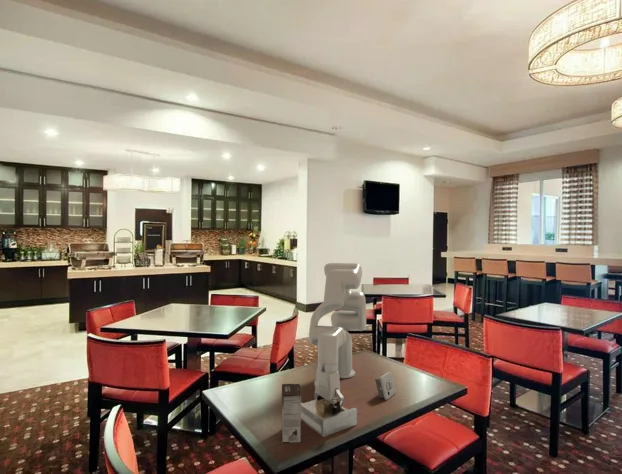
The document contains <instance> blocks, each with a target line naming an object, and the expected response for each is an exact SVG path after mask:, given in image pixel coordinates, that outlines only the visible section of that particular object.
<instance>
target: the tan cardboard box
mask: <svg viewBox="0 0 622 474" xmlns="http://www.w3.org/2000/svg"><path fill="white" fill-rule="evenodd" d="M334 398H335V397H334ZM334 401H335V403H337V400H334ZM342 405H343V404H342ZM342 405H341V406H340V412H342ZM332 407H333V404H332V401H328V400H326V399H321V400H318V401H316V413H317V414H318V415H320V416H321V417H322V418H325V417H328V416H331V415H332Z"/></svg>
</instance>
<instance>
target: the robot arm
mask: <svg viewBox="0 0 622 474" xmlns="http://www.w3.org/2000/svg"><path fill="white" fill-rule="evenodd" d="M323 272H324V275H325V285H324V293H323V302H322V303H321V304H320V305H318V306H317V307H316V308H315V310H314V311H313V313H312V315H311V318H310V324H309V331H308V339H309V342H310V343H311V345H314V346H317V368H316V372H315V381H313V383H314V384H313V385H314V391H316V396H318V397H317V401H318V400H321V399H326V400H328V401H332V404H333V407H332V415H334V414H337V413H340V406H341V405H343V404H344V400H345V397H344V395H343V394H342V393H341V380H340V379H351V378H353V377H355V375H356V371H355V370H354V369H353V338H352V336H351V334H350V333H349V331H354V332H356V331H357V332H358V331H359V332H362V331H365V330H366V327H367V304H366V296H365V294H364V293H363V292H362V291H357V289H358V288H359V287H360V284H361V281H362V276H363V270H362V265H360V263H356V262H355V263H353V262H352V263H351V262H329V263H326V264H325V265H324V268H323ZM353 290H355V291H353ZM330 313H331V316H330V322H331V325H319V321H320V320H321V319H322V318H323V317H324V316H326V315H327V314H330ZM334 397H335V398H334ZM334 400H337V403H335V401H334Z"/></svg>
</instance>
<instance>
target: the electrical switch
mask: <svg viewBox="0 0 622 474" xmlns="http://www.w3.org/2000/svg"><path fill="white" fill-rule="evenodd" d="M374 382H375V385H376V390H377V393H378V397H379V398H380V399H384V401H388V400H389V399H390V398H391V397H394V396H395V395H396V394H397V390H396V387H395V386H396V385H395V382H394V378H393V374H392V372H391V371H387V372H386V373H384V374H383V373H382V374H381V375H380V376H378V377H376V378H375V379H374Z"/></svg>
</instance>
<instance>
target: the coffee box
mask: <svg viewBox="0 0 622 474" xmlns="http://www.w3.org/2000/svg"><path fill="white" fill-rule="evenodd" d="M301 403H302V391H301V385H300V383H282V384H281V431H282V432H281V434H282V435H281V436H282V443H283V442H290V443H301V442H302V420H301Z"/></svg>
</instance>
